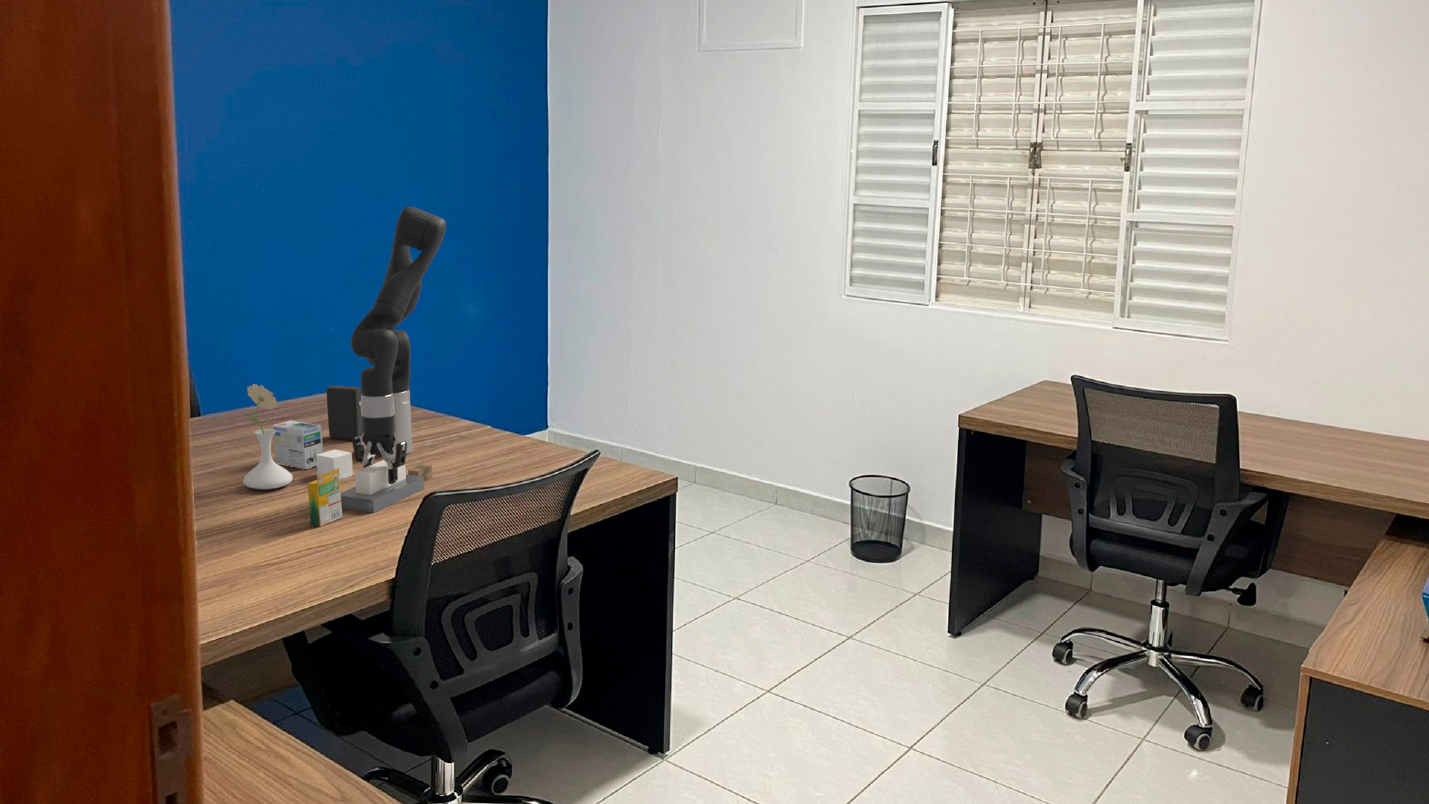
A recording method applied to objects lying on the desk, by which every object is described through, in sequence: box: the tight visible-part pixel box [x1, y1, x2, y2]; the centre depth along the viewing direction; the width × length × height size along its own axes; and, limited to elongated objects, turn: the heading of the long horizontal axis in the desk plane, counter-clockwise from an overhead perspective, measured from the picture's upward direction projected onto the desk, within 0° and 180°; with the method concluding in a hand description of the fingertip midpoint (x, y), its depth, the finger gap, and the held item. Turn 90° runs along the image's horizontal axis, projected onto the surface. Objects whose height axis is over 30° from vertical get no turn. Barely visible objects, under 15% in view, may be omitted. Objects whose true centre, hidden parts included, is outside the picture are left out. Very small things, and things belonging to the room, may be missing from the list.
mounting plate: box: [341, 474, 425, 514], centre depth 272 cm, size 20×10×3 cm, turn 160°
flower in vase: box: [242, 383, 294, 490], centre depth 277 cm, size 13×11×25 cm
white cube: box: [316, 449, 354, 480], centre depth 288 cm, size 6×6×6 cm
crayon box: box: [307, 468, 343, 528], centre depth 254 cm, size 7×3×12 cm, turn 157°
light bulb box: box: [272, 419, 324, 470], centre depth 297 cm, size 11×7×11 cm, turn 65°
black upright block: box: [326, 385, 364, 441], centre depth 322 cm, size 9×4×15 cm, turn 80°
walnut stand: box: [407, 463, 433, 482], centre depth 287 cm, size 6×3×3 cm, turn 160°
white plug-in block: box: [354, 459, 407, 495], centre depth 271 cm, size 14×4×9 cm, turn 160°
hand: (381, 481), depth 271 cm, fingers open, 6 cm apart
